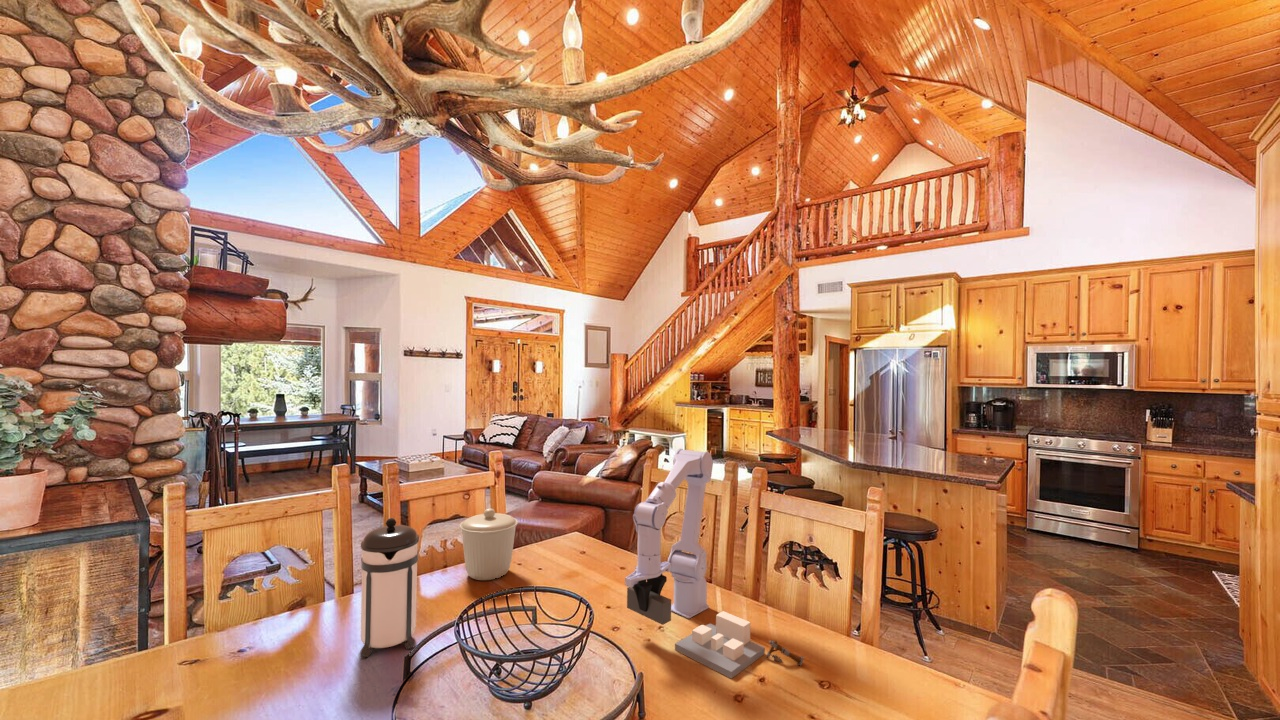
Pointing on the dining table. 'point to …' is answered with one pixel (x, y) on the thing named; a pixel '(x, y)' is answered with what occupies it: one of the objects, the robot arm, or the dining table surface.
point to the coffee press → (388, 587)
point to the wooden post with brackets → (784, 651)
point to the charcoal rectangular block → (651, 606)
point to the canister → (488, 544)
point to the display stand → (722, 645)
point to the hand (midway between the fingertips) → (648, 607)
